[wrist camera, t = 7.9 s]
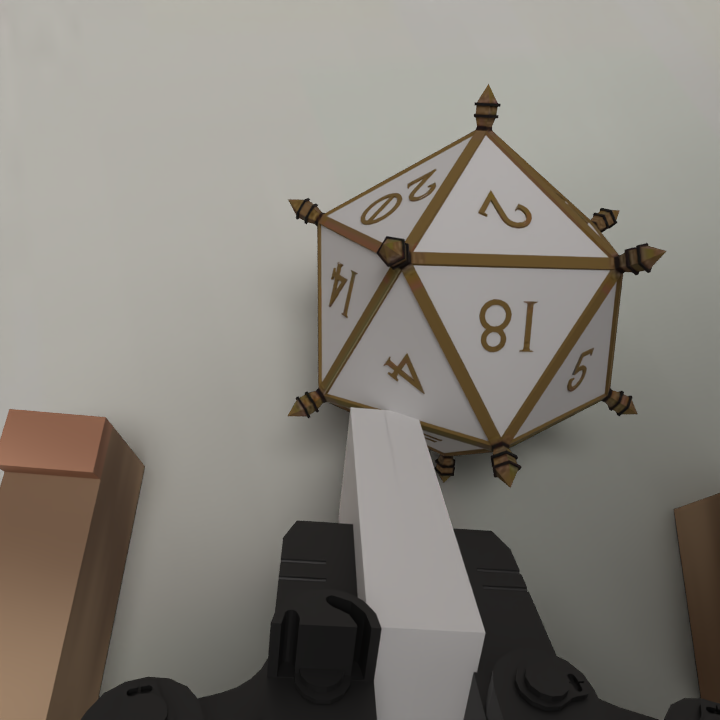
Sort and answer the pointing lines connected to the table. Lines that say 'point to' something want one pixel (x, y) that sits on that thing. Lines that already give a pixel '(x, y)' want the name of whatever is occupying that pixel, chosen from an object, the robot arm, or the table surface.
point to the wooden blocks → (109, 551)
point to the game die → (468, 300)
